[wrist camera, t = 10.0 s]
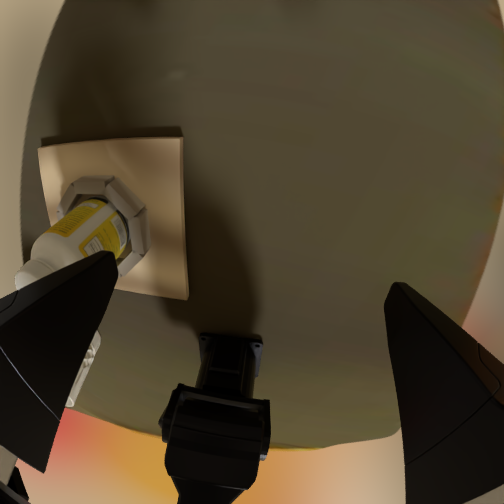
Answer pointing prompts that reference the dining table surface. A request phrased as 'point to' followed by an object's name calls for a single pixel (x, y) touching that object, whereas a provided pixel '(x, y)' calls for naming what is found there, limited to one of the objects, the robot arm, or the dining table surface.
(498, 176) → the dining table surface
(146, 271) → the board
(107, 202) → the supplement bottle
